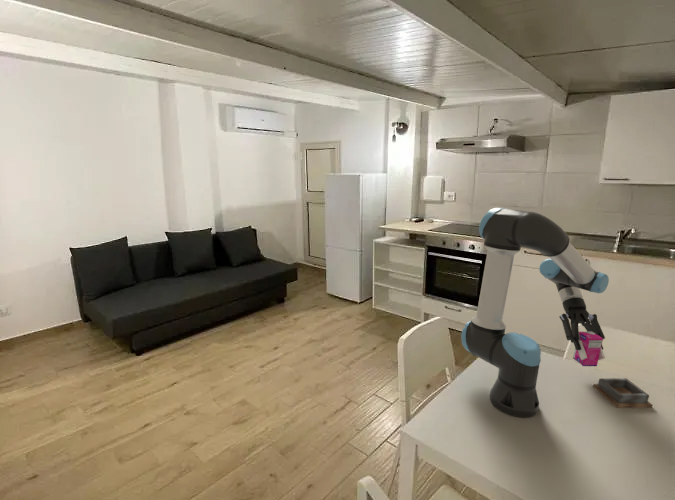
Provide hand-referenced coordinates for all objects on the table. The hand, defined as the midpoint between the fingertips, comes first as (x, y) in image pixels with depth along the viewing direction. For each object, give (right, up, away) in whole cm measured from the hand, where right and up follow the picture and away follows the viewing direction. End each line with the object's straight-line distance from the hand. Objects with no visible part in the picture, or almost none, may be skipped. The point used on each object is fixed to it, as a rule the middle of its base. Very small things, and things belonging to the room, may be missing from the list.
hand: (593, 358), depth 137 cm
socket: (+7, -12, -5) cm, 15 cm away
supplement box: (0, -3, +4) cm, 5 cm away
